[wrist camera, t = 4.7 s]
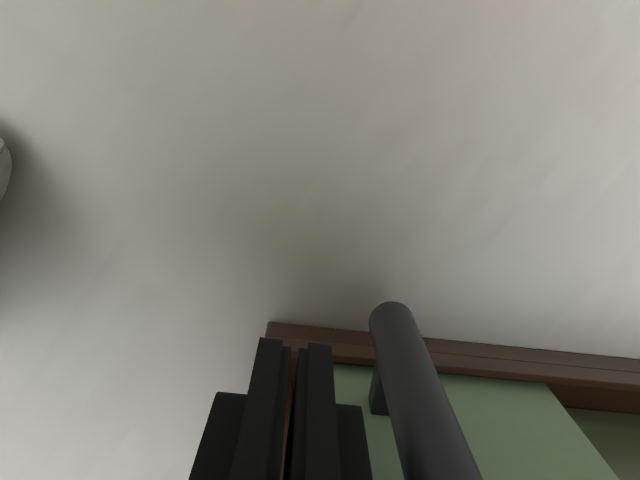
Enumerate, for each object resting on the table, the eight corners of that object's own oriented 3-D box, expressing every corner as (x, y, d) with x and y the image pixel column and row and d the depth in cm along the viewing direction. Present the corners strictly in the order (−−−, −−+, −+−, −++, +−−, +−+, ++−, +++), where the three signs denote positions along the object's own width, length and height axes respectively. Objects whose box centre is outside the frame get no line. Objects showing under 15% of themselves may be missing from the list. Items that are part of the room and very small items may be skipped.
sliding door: (311, 276, 15) (309, 493, 7) (571, 304, 15) (846, 537, 7) (298, 377, 16) (284, 657, 8) (539, 400, 17) (743, 685, 9)
